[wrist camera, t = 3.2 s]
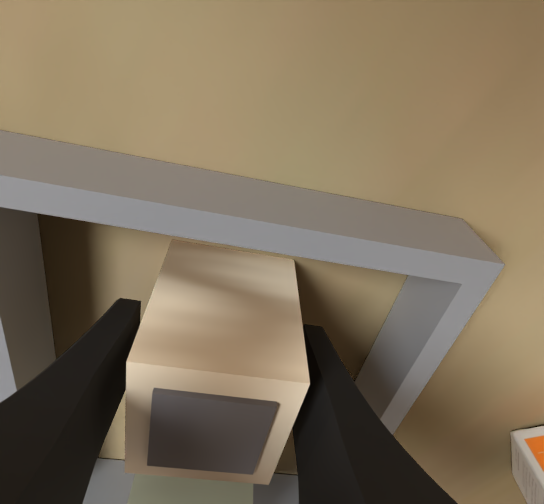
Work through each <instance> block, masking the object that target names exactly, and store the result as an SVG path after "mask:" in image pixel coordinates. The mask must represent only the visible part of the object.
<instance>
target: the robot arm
mask: <svg viewBox="0 0 544 504" xmlns="http://www.w3.org/2000/svg"><path fill="white" fill-rule="evenodd" d="M140 310H141V301H137V300H130V299H123V298H120V299H118V300H116V302H115V303H114V304H113V305H112V306H111V307H110V308H109V309H108V310H107V312H106V313H105V314H104V315H103V316H102V317H101V318H100V319H99V320H98V321H97V322H96V323H95V324H94V325H93V326H92V327H91V328H90V329H89V330H88V331H87V332H86V333H85V334H84V335H83V336H82V337H81V338H80V339H79V340H77V341H76V342H75V343H74V344H73V345H72V346H71V347H70V348H69V349H68V350H67V351H66V352H64V353H63V354H62V355H61V356H60V357H59V358H57V359H56V360H55V361H54V362H53V363H52V364H50V365H49V366H48V367H47V368H46V369H44V370H43V371H42V372H41V373H39V374H38V375H37V376H36V377H34V378H33V379H32V380H31V381H29V382H28V383H27V384H25V385H24V386H23V387H21V388H20V389H19V390H17V391H16V392H15V393H13V394H12V395H10V396H9V397H8V398H6V399H5V400H3V401H2V402H0V504H83V501H84V498H85V494H86V491H87V488H88V485H89V482H90V479H91V475H92V472H93V469H94V466H95V463H96V460H97V458H98V455H99V452H100V450H101V447H102V445H103V442H104V440H105V437H106V435H107V433H108V430H109V428H110V426H111V423H112V421H113V418H114V416H115V414H116V411H117V409H118V406H119V404H120V402H121V399H122V397H123V394H124V392H125V390H126V361H127V358H128V356H129V353H130V350H131V348H132V345H133V342H134V340H135V337H136V334H137V332H138V329H139V326H140ZM303 333H304V340H305V348H306V356H307V363H308V371H309V379H310V385H309V388H308V390H307V393H306V395H305V398H304V400H303V403H302V405H301V407H300V410H299V412H298V415H297V417H296V420H295V422H294V424H293V427H292V428H293V436H294V445H295V453H296V461H297V472H298V489H299V504H458V503H456V502H455V501H454V500H453V499H452V498H451V497H450V496H449V495H448V494H447V493H446V492H445V491H444V490H443V489H442V488H441V487H440V486H439V485H438V484H437V483H436V482H435V481H434V480H433V479H432V478H431V477H430V476H429V475H428V474H427V473H426V472H425V471H424V470H423V469H422V468H421V467H420V466H419V465H418V464H417V462H416V461H415V460H414V459H413V458H412V457H411V456H410V455H409V454H408V453H407V452H406V451H405V449H404V448H403V447H402V446H401V445H400V444H399V442H398V441H397V440H396V439H395V438H394V436H393V435H392V434H391V433H390V431H389V430H388V429H387V428H386V426H385V425H384V424H383V423H382V421H381V420H380V419H379V417H378V416H377V415H376V413H375V412H374V411H373V409H372V408H371V406H370V405H369V403H368V402H367V401H366V399H365V398H364V396H363V395H362V393H361V392H360V390H359V389H358V387H357V386H356V384H355V382H354V381H353V379H352V378H351V376H350V374H349V373H348V371H347V370H346V368H345V366H344V365H343V363H342V361H341V359H340V358H339V356H338V354H337V352H336V351H335V349H334V347H333V345H332V343H331V342H330V340H329V338H328V336H327V334H326V332H325V331H324V329H323V328H322V327H320V326H313V325H306V324H304V325H303Z"/></svg>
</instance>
